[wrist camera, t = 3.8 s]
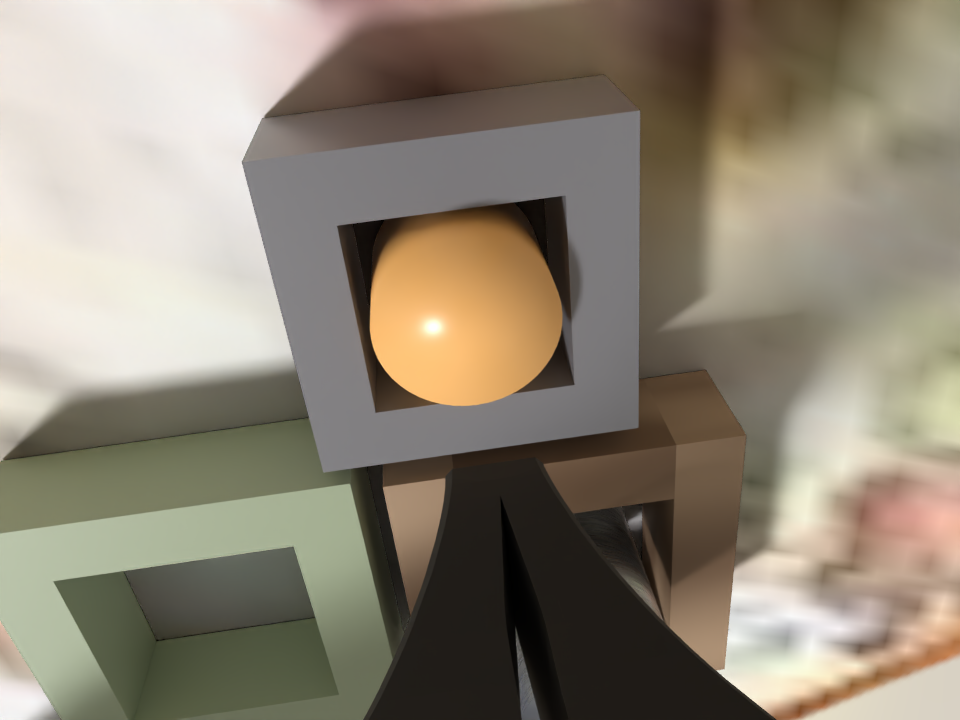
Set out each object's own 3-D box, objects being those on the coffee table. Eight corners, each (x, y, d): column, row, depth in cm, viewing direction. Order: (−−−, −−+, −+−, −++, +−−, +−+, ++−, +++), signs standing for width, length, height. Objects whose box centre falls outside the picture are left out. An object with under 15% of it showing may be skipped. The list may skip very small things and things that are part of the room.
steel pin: (618, 550, 26) (701, 794, 19) (494, 568, 26) (534, 821, 19) (617, 452, 24) (709, 688, 17) (482, 471, 24) (521, 717, 17)
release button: (543, 324, 21) (566, 392, 18) (386, 345, 21) (386, 417, 18) (533, 171, 18) (558, 223, 16) (357, 194, 18) (353, 251, 16)
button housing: (609, 362, 22) (638, 427, 20) (330, 400, 22) (323, 472, 19) (604, 74, 18) (639, 110, 16) (262, 118, 18) (241, 161, 15)
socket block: (692, 593, 27) (724, 668, 25) (426, 632, 27) (431, 713, 25) (705, 369, 23) (746, 435, 20) (382, 415, 22) (382, 487, 20)
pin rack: (405, 641, 27) (407, 722, 25) (119, 683, 27) (92, 770, 24) (354, 411, 22) (350, 483, 20) (1, 460, 22) (-50, 540, 19)
